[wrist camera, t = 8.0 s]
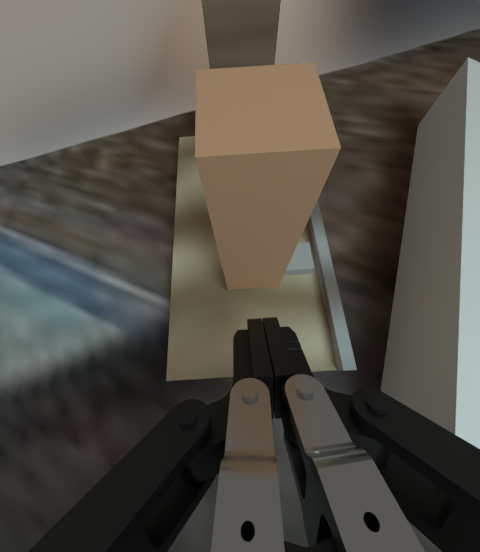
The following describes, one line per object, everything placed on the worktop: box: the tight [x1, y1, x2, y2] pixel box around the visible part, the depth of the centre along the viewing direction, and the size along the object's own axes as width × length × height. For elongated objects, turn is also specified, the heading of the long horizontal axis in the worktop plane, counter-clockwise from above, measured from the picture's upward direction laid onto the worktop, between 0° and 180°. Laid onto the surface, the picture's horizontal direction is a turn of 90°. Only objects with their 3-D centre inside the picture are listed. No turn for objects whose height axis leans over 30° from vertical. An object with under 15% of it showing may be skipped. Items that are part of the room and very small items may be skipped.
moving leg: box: [195, 62, 341, 290], centre depth 11 cm, size 4×6×11 cm, turn 94°
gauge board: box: [166, 136, 357, 381], centre depth 18 cm, size 22×12×2 cm, turn 3°
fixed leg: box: [202, 0, 281, 69], centre depth 15 cm, size 4×6×11 cm, turn 93°
